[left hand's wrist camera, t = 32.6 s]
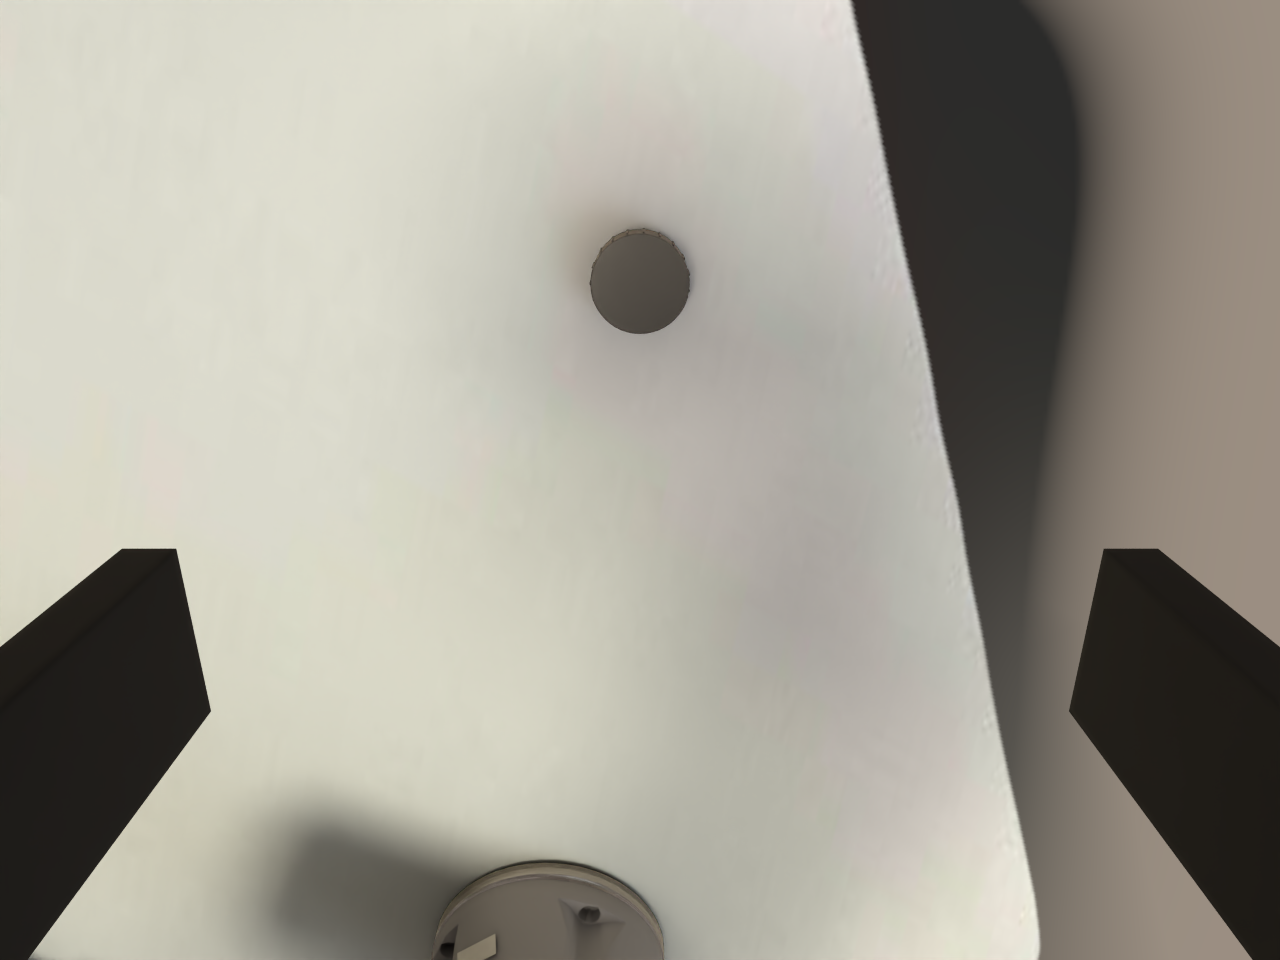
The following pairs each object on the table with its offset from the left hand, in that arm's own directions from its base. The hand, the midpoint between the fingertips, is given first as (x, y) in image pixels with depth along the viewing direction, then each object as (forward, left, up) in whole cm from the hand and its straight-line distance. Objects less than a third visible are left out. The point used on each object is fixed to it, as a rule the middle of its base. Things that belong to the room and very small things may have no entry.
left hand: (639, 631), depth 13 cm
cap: (0, 0, -31) cm, 31 cm away
